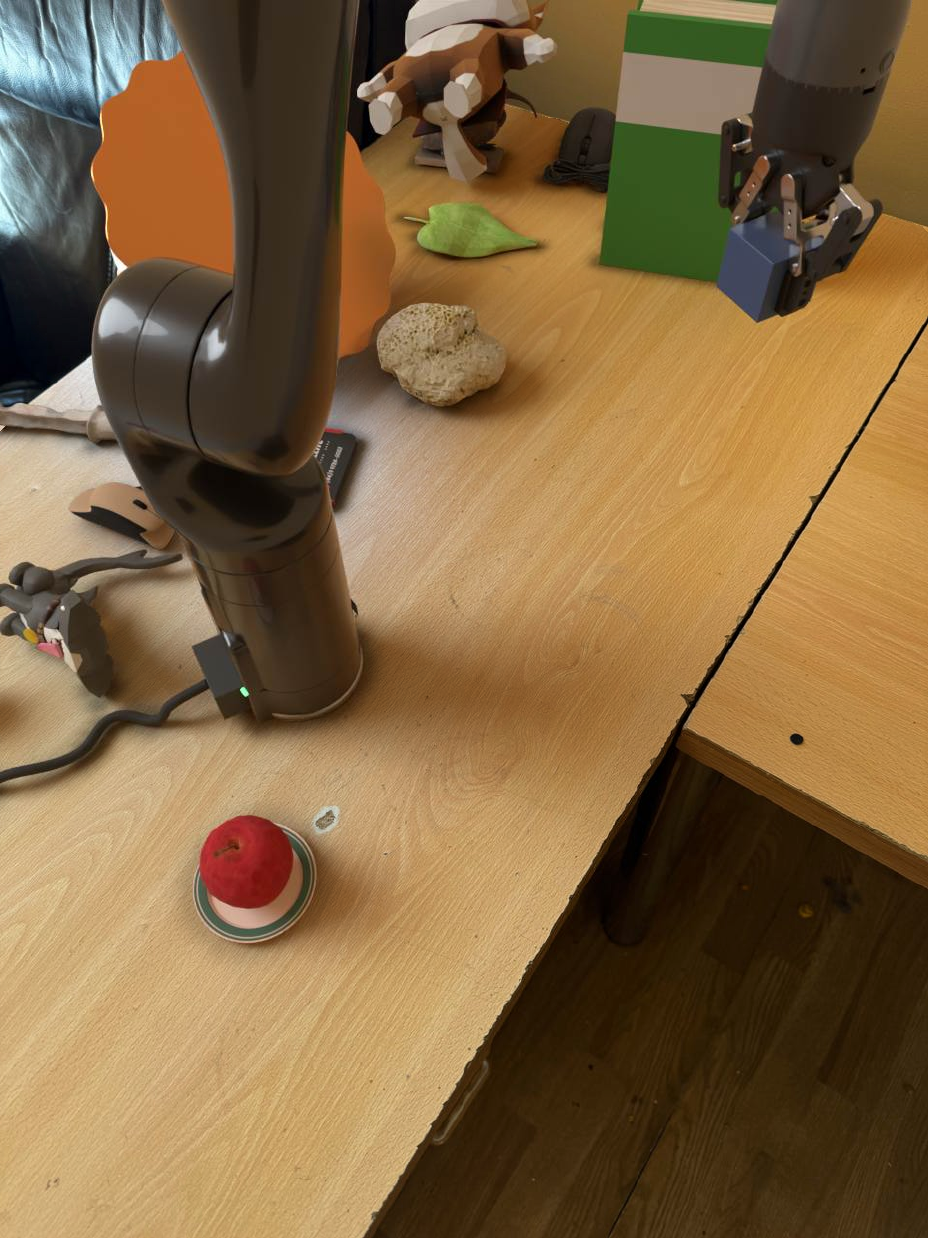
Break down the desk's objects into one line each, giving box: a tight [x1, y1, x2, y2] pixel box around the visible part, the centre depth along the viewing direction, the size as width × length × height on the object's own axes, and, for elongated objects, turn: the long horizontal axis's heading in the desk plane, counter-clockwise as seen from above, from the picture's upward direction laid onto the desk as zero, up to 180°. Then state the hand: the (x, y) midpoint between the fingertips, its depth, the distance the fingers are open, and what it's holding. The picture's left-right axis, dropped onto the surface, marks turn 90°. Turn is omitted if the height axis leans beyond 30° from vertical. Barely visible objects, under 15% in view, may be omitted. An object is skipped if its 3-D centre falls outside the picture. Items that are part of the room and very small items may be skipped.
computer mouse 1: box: [68, 481, 175, 550], centre depth 78 cm, size 6×10×4 cm, turn 64°
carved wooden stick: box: [0, 400, 118, 445], centre depth 84 cm, size 25×4×3 cm, turn 79°
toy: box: [356, 0, 558, 183], centre depth 105 cm, size 24×18×30 cm
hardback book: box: [599, 0, 778, 283], centre depth 90 cm, size 18×7×24 cm, turn 74°
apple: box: [192, 814, 318, 944], centre depth 59 cm, size 8×8×6 cm
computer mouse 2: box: [541, 106, 616, 193], centre depth 110 cm, size 10×15×4 cm
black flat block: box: [313, 427, 358, 509], centre depth 82 cm, size 10×1×5 cm
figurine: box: [414, 87, 538, 174], centre depth 107 cm, size 14×4×9 cm, turn 76°
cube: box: [716, 210, 818, 324], centre depth 69 cm, size 5×5×5 cm
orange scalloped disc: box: [90, 49, 397, 362], centre depth 88 cm, size 28×28×18 cm
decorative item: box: [376, 302, 507, 407], centre depth 86 cm, size 12×9×10 cm
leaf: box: [403, 202, 539, 259], centre depth 101 cm, size 9×16×2 cm, turn 66°
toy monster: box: [0, 548, 184, 699], centre depth 70 cm, size 14×18×10 cm
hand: (763, 289), depth 71 cm, fingers closed on cube, 5 cm apart
